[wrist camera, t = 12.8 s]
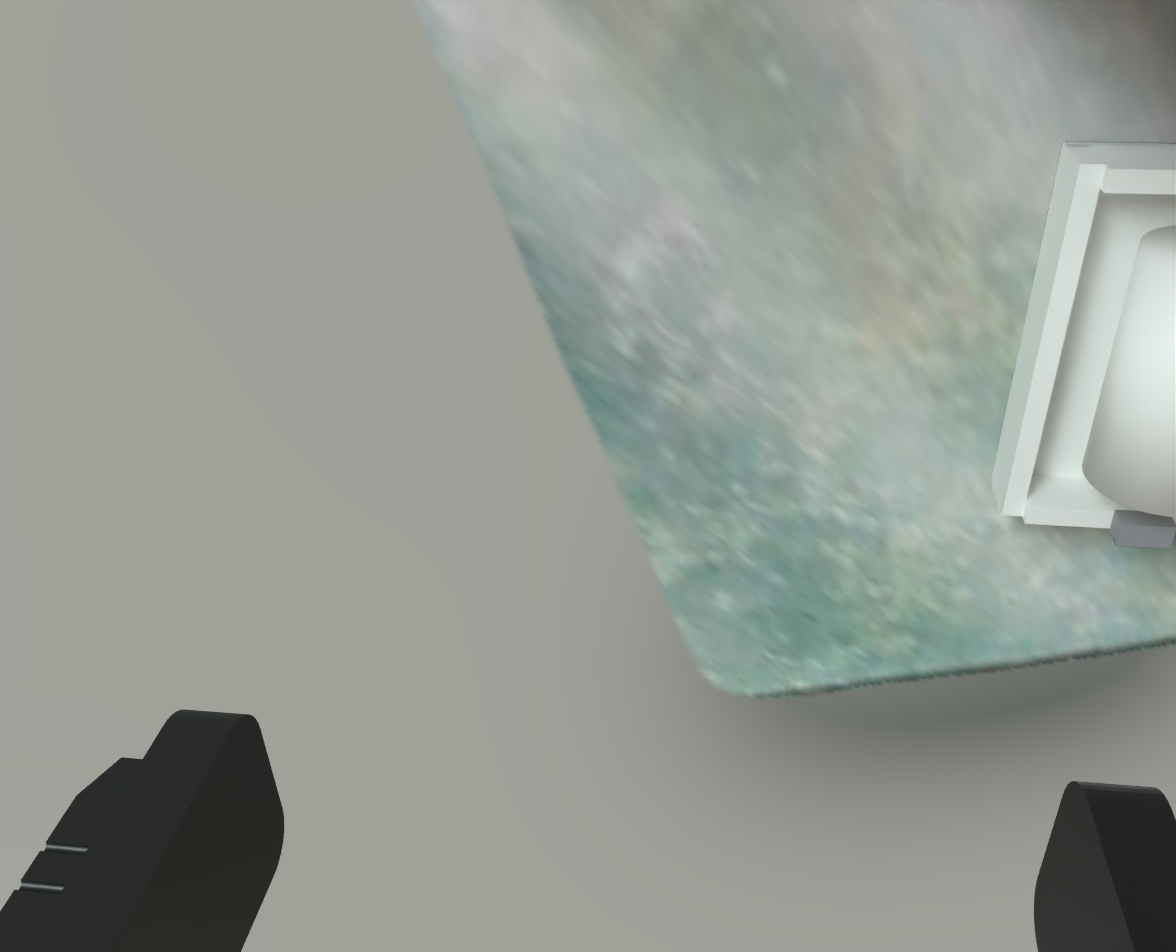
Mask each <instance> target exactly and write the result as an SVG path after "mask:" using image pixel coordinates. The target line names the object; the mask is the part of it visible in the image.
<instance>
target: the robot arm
mask: <svg viewBox="0 0 1176 952" xmlns="http://www.w3.org/2000/svg"><path fill="white" fill-rule="evenodd" d="M283 837H284V815H283V809H282V805H281V801H280V798H279V794H278V791H277V787H276V783H275V780H274V777H273V773H272V769H271V766H270V762H269V758H268V755H267V752H266V747H265V744H264V740H263V737H262V733H261V730H260V727H259V724H258V722H257V720H256V719H255V718H254V717H253V716H251V715H247V714H234V713H222V712H208V711H196V710H179V711H177V712H175V713H174V714H172V715H171V716H170V717H169V719H168V720H167V721H166V723H165V724H164V726H163V727H162V729H161V730H160V732H159V734H158V735H157V737H156V739H155V740H154V742H153V743H152V745H151V747H150V749H149V750H148V752H147V753H146V755H145V756H144V758H143V759H132V758H120V759H119V760H118V761H117V762H116V763H115V764H113V765H112V766H111V767H110V768H109V769H107V770H106V771H105V772H104V773H103V774H101V775H100V776H99V777H98V778H97V779H96V780H94V781H93V782H92V783H91V784H90V785H89V786H87V787H86V788H85V789H84V790H83V791H81V792H80V793H79V794H78V795H77V796H76V797H75V799H74V800H73V802H72V803H71V805H70V806H69V808H68V809H67V811H66V812H65V814H64V815H63V817H62V818H61V820H60V821H59V823H58V824H57V826H56V828H55V829H54V831H53V832H52V834H51V835H50V837H49V838H48V840H47V841H46V849H45V850H44V851H40V852H39V854H38V855H37V857H36V858H35V860H34V861H33V862H32V864H31V866H30V867H29V869H28V870H27V872H26V873H25V875H24V876H23V878H22V879H21V887H20V889H19V890H14V891H13V893H12V894H11V896H10V897H9V899H8V900H7V902H6V904H5V905H4V907H3V908H2V910H1V911H0V952H241V950H242V948H243V945H244V943H245V941H246V938H247V936H248V934H249V931H250V929H251V927H252V925H253V922H254V920H255V918H256V916H257V913H258V911H259V908H260V906H261V904H262V902H263V899H264V897H265V895H266V892H267V890H268V888H269V886H270V883H271V881H272V879H273V876H274V874H275V871H276V869H277V866H278V862H279V859H280V855H281V850H282V845H283ZM1034 923H1035V934H1036V941H1037V947H1038V952H1176V820H1175V817H1174V815H1173V812H1172V809H1171V807H1170V805H1169V802H1168V800H1167V799H1166V797H1165V796H1164V794H1163V793H1162V792H1161V791H1160V790H1159V789H1157V788H1153V787H1142V786H1129V785H1116V784H1103V783H1090V782H1076V781H1072V782H1070V783H1069V784H1068V785H1067V787H1066V789H1065V791H1064V793H1063V796H1062V799H1061V803H1060V806H1059V809H1058V813H1057V816H1056V819H1055V822H1054V826H1053V829H1052V832H1051V836H1050V839H1049V842H1048V845H1047V849H1046V852H1045V855H1044V859H1043V862H1042V865H1041V869H1040V871H1039V875H1038V878H1037V882H1036V889H1035V898H1034Z"/></svg>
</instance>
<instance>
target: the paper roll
mask: <svg viewBox="0 0 1176 952" xmlns="http://www.w3.org/2000/svg"><path fill="white" fill-rule="evenodd" d="M1082 471H1083V474H1084V476H1085V478H1086V479H1087V481H1088V482H1089V483H1090V484H1091V485H1092V486H1093V487H1094V488H1095V489H1096V490H1097V491H1099V492H1100V493H1101V494H1103V495H1104V496H1106V497H1108V498H1109V499H1111V500H1113V501H1115V502H1117V503H1119V504H1122V505H1124V506H1127V507H1129V508H1132V509H1135V510H1138V511H1142V512H1145V513H1150V514H1154V515H1160V516H1167V517H1176V225H1173V226H1166V227H1161V228H1157V229H1154V230H1151V231H1149V232H1147V233H1146V234H1144V235H1143V236H1142V238H1141V239H1140V243H1139V247H1138V251H1137V254H1136V258H1135V262H1134V266H1133V270H1132V274H1131V277H1130V281H1129V285H1128V289H1127V293H1126V297H1125V301H1124V304H1123V308H1122V312H1121V316H1120V320H1119V324H1118V328H1117V331H1116V335H1115V339H1114V343H1113V347H1112V351H1111V354H1110V358H1109V362H1108V366H1107V370H1106V374H1105V378H1104V381H1103V385H1102V389H1101V393H1100V397H1099V401H1098V404H1097V408H1096V412H1095V416H1094V420H1093V424H1092V428H1091V431H1090V435H1089V439H1088V443H1087V447H1086V451H1085V455H1084V458H1083V462H1082Z"/></svg>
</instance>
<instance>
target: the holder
mask: <svg viewBox="0 0 1176 952" xmlns="http://www.w3.org/2000/svg"><path fill="white" fill-rule="evenodd" d="M1173 225H1176V144H1157V143H1088V142H1063V145H1062V149H1061V154H1060V159H1059V164H1058V168H1057V173H1056V178H1055V182H1054V187H1053V192H1052V196H1051V201H1050V206H1049V210H1048V215H1047V220H1046V225H1045V229H1044V234H1043V239H1042V243H1041V248H1040V253H1039V257H1038V262H1037V267H1036V271H1035V276H1034V281H1033V285H1032V290H1031V295H1030V300H1029V304H1028V309H1027V314H1026V318H1025V323H1024V328H1023V332H1022V337H1021V342H1020V346H1019V351H1018V356H1017V361H1016V365H1015V370H1014V375H1013V379H1012V384H1011V389H1010V393H1009V398H1008V403H1007V407H1006V412H1005V417H1004V422H1003V426H1002V431H1001V436H1000V440H999V445H998V450H997V454H996V459H995V464H994V468H993V473H992V478H991V484H992V487H993V490H994V493H995V496H996V499H997V502H998V506H999V509H1000V512H1001V515H1004V516H1022V517H1023V520H1024V523H1025V524H1039V525H1057V526H1075V527H1093V528H1109V532H1110V534H1111V536H1112V539H1113V541H1114V543H1115V545H1116V546H1131V547H1148V548H1166V549H1170V548H1171V545H1172V542H1173V539H1174V536H1175V533H1176V517H1167V516H1160V515H1154V514H1150V513H1145V512H1142V511H1138V510H1135V509H1132V508H1129V507H1127V506H1124V505H1122V504H1119V503H1117V502H1115V501H1113V500H1111V499H1109V498H1108V497H1106V496H1104V495H1103V494H1101V493H1100V492H1099V491H1097V490H1096V489H1095V488H1094V487H1093V486H1092V485H1091V484H1090V483H1089V482H1088V481H1087V479H1086V478H1085V476H1084V474H1083V471H1082V462H1083V458H1084V455H1085V451H1086V447H1087V443H1088V439H1089V435H1090V431H1091V428H1092V424H1093V420H1094V416H1095V412H1096V408H1097V404H1098V401H1099V397H1100V393H1101V389H1102V385H1103V381H1104V378H1105V374H1106V370H1107V366H1108V362H1109V358H1110V354H1111V351H1112V347H1113V343H1114V339H1115V335H1116V331H1117V328H1118V324H1119V320H1120V316H1121V312H1122V308H1123V304H1124V301H1125V297H1126V293H1127V289H1128V285H1129V281H1130V277H1131V274H1132V270H1133V266H1134V262H1135V258H1136V254H1137V251H1138V247H1139V243H1140V239H1141V238H1142V236H1143V235H1144V234H1146V233H1147V232H1149V231H1151V230H1154V229H1157V228H1161V227H1166V226H1173Z"/></svg>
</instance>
